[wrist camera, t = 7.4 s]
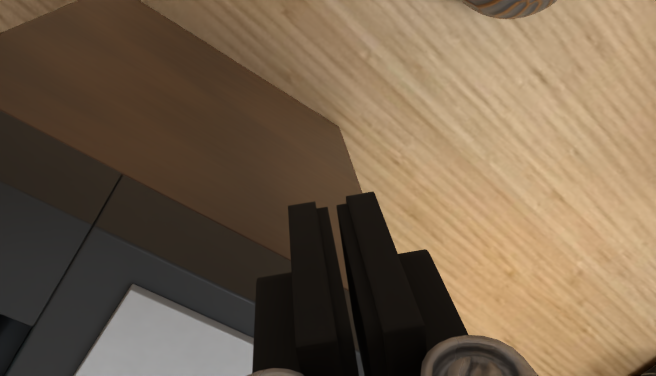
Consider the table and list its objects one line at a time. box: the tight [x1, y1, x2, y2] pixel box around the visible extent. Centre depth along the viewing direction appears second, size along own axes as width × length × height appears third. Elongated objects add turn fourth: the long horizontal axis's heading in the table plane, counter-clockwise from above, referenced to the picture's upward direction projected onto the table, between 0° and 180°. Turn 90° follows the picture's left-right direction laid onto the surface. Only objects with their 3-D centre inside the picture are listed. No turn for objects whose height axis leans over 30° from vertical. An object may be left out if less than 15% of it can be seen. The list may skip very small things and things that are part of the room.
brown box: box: [0, 0, 362, 291], centre depth 27 cm, size 16×12×20 cm
